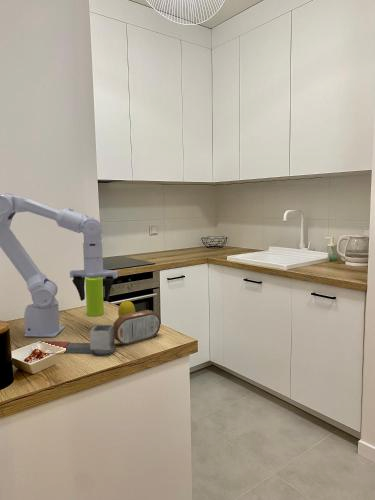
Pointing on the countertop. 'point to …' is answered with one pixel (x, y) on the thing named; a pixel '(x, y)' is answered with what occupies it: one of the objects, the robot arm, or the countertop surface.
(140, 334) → the tin
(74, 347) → the ratchet
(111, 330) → the socket
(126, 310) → the lemon
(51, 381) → the countertop surface
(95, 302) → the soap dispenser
